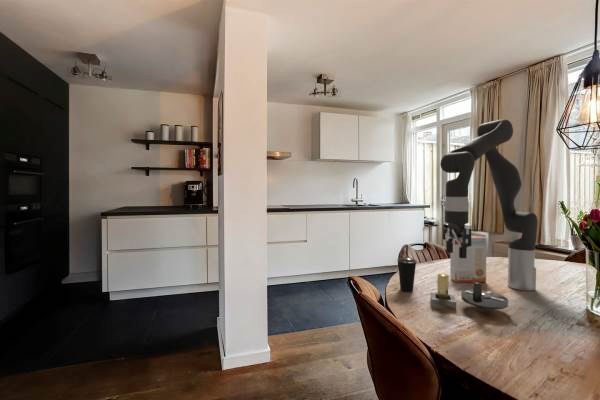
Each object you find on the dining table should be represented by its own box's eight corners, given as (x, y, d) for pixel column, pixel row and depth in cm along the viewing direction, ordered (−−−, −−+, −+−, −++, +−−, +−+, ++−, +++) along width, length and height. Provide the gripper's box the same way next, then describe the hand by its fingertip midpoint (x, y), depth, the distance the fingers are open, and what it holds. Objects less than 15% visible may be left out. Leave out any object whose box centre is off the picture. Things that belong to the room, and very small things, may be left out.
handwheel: (470, 291, 114) (471, 271, 114) (514, 301, 103) (514, 280, 103) (454, 300, 105) (454, 279, 105) (499, 313, 94) (500, 289, 94)
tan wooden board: (499, 307, 109) (499, 297, 108) (510, 325, 95) (510, 313, 95) (430, 299, 117) (430, 289, 117) (431, 314, 103) (431, 303, 103)
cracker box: (479, 278, 143) (480, 235, 142) (486, 282, 137) (487, 237, 136) (449, 278, 144) (450, 235, 143) (454, 282, 138) (455, 237, 137)
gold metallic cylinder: (447, 303, 110) (448, 274, 110) (448, 307, 107) (449, 277, 106) (437, 302, 112) (437, 273, 111) (437, 305, 108) (438, 276, 108)
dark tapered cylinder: (407, 296, 120) (407, 247, 119) (393, 291, 127) (393, 244, 126) (420, 293, 124) (420, 245, 123) (406, 288, 130) (406, 242, 130)
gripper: (479, 211, 97) (478, 260, 98) (455, 208, 112) (455, 250, 112) (457, 211, 97) (456, 260, 98) (436, 208, 111) (435, 251, 112)
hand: (455, 255), depth 105 cm, fingers open, 8 cm apart
